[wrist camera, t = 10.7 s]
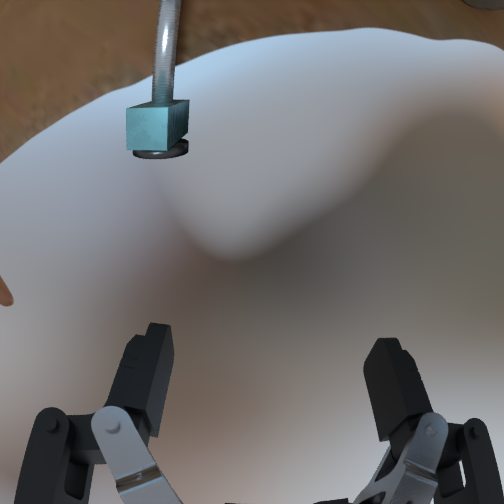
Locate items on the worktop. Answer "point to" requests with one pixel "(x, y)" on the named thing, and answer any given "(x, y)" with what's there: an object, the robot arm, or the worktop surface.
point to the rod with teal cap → (161, 98)
